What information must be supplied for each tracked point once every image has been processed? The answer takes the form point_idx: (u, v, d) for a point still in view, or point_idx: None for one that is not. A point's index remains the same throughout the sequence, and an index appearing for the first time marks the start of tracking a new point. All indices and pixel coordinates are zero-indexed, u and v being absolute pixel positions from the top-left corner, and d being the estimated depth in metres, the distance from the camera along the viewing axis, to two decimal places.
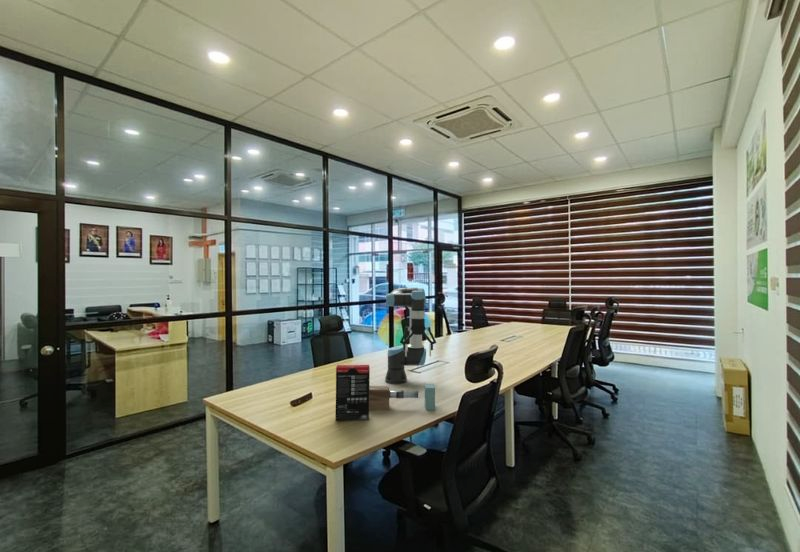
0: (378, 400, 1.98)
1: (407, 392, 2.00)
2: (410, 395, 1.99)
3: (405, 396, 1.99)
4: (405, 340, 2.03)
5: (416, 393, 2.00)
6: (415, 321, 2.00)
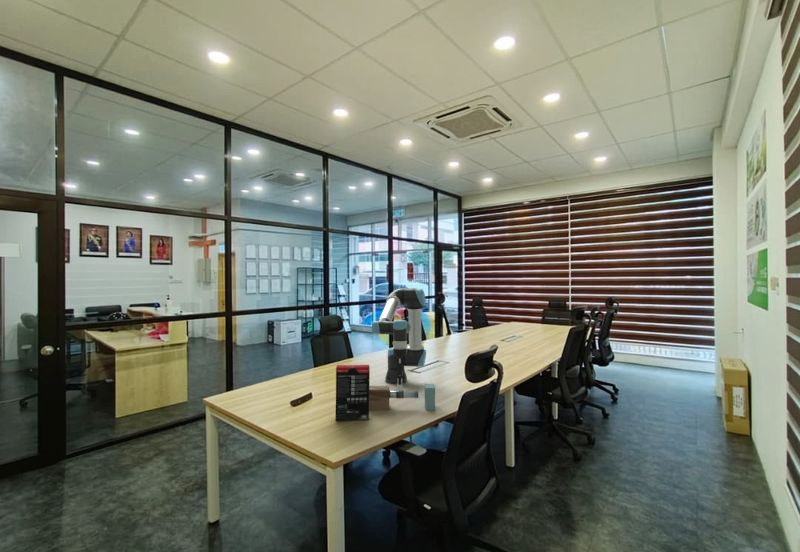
0: (378, 400, 1.98)
1: (407, 392, 2.00)
2: (410, 395, 1.99)
3: (405, 396, 1.99)
4: None
5: (416, 393, 2.00)
6: None
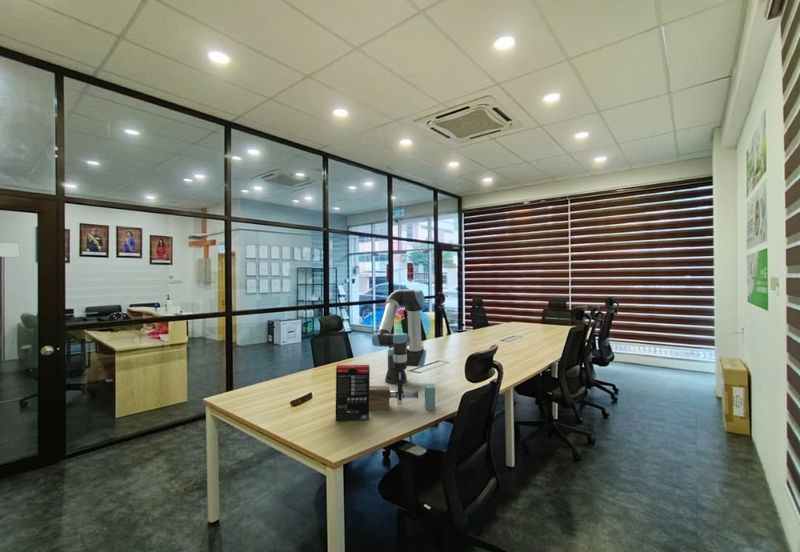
0: (378, 400, 1.98)
1: (407, 392, 2.00)
2: (410, 395, 1.99)
3: (405, 396, 1.99)
4: None
5: (416, 393, 2.00)
6: None
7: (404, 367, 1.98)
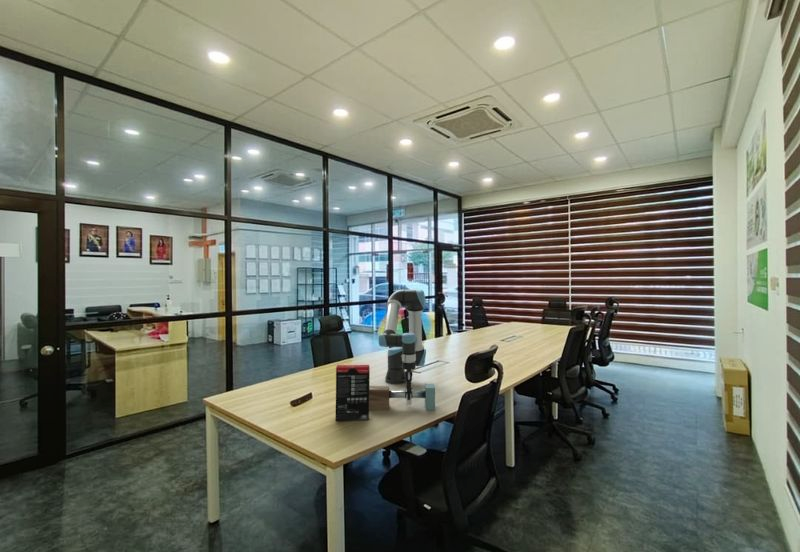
0: (378, 400, 1.98)
1: (416, 392, 2.00)
2: (419, 395, 1.99)
3: (413, 396, 1.99)
4: None
5: (425, 393, 1.99)
6: None
7: (413, 367, 1.98)
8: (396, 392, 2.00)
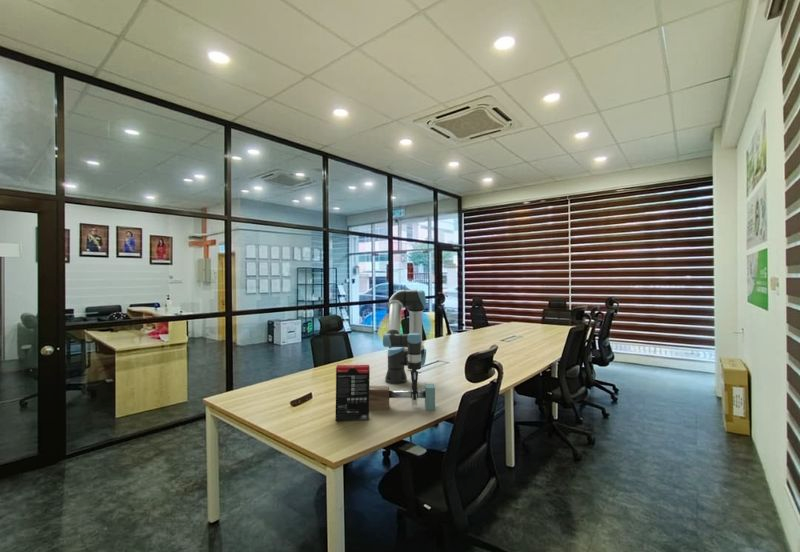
0: (378, 400, 1.98)
1: (421, 392, 2.00)
2: (425, 395, 1.99)
3: (419, 396, 1.99)
4: None
5: None
6: None
7: (419, 367, 1.98)
8: (402, 392, 2.00)
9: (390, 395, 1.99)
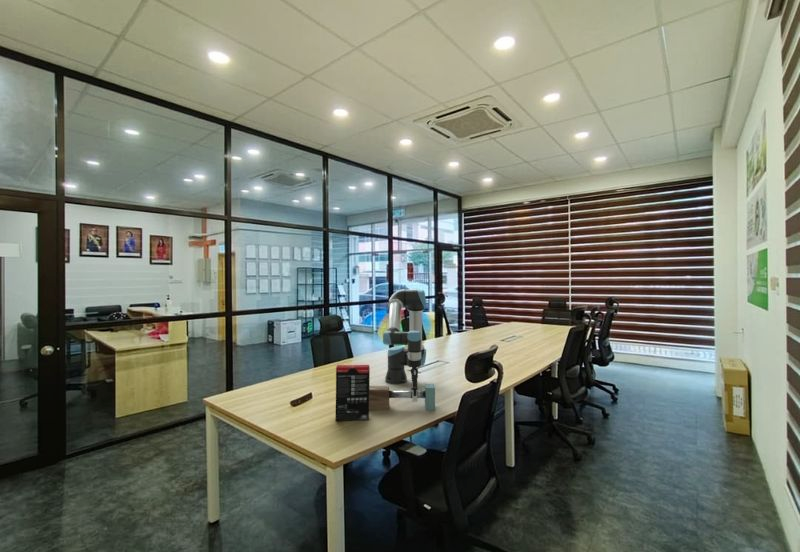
0: (378, 400, 1.98)
1: (421, 392, 2.00)
2: (425, 395, 1.99)
3: (419, 396, 1.99)
4: None
5: None
6: None
7: (419, 365, 1.98)
8: (402, 392, 2.00)
9: (390, 395, 1.99)
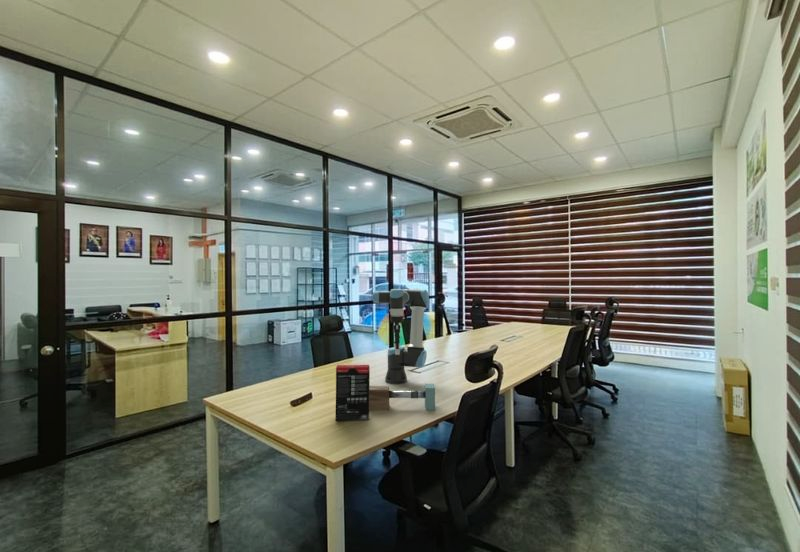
0: (378, 400, 1.98)
1: (421, 392, 2.00)
2: (425, 395, 1.99)
3: (419, 396, 1.99)
4: None
5: None
6: None
7: (401, 320, 2.09)
8: (402, 392, 2.00)
9: (390, 395, 1.99)
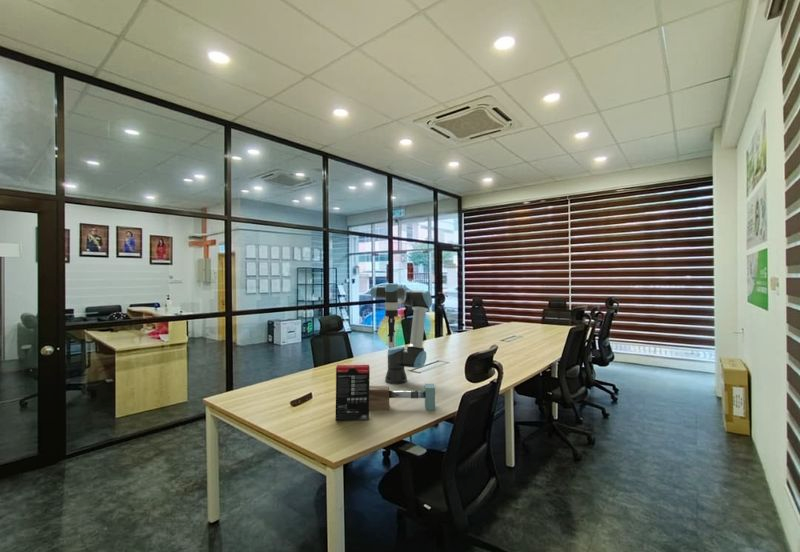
0: (378, 400, 1.98)
1: (421, 392, 2.00)
2: (425, 395, 1.99)
3: (419, 396, 1.99)
4: None
5: None
6: None
7: (395, 314, 2.12)
8: (402, 392, 2.00)
9: (390, 395, 1.99)
